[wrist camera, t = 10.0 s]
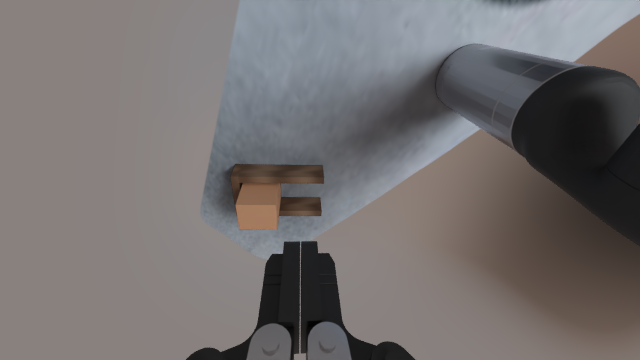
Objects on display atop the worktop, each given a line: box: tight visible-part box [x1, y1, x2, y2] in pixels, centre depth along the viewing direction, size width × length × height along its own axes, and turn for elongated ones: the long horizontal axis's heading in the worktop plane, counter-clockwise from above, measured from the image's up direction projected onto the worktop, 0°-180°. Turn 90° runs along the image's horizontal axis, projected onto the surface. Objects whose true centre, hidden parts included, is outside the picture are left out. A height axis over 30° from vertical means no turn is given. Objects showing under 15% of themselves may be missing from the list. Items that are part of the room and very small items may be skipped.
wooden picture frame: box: [230, 164, 324, 216], centre depth 47 cm, size 15×8×4 cm, turn 87°
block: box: [236, 183, 281, 230], centre depth 44 cm, size 6×5×9 cm
